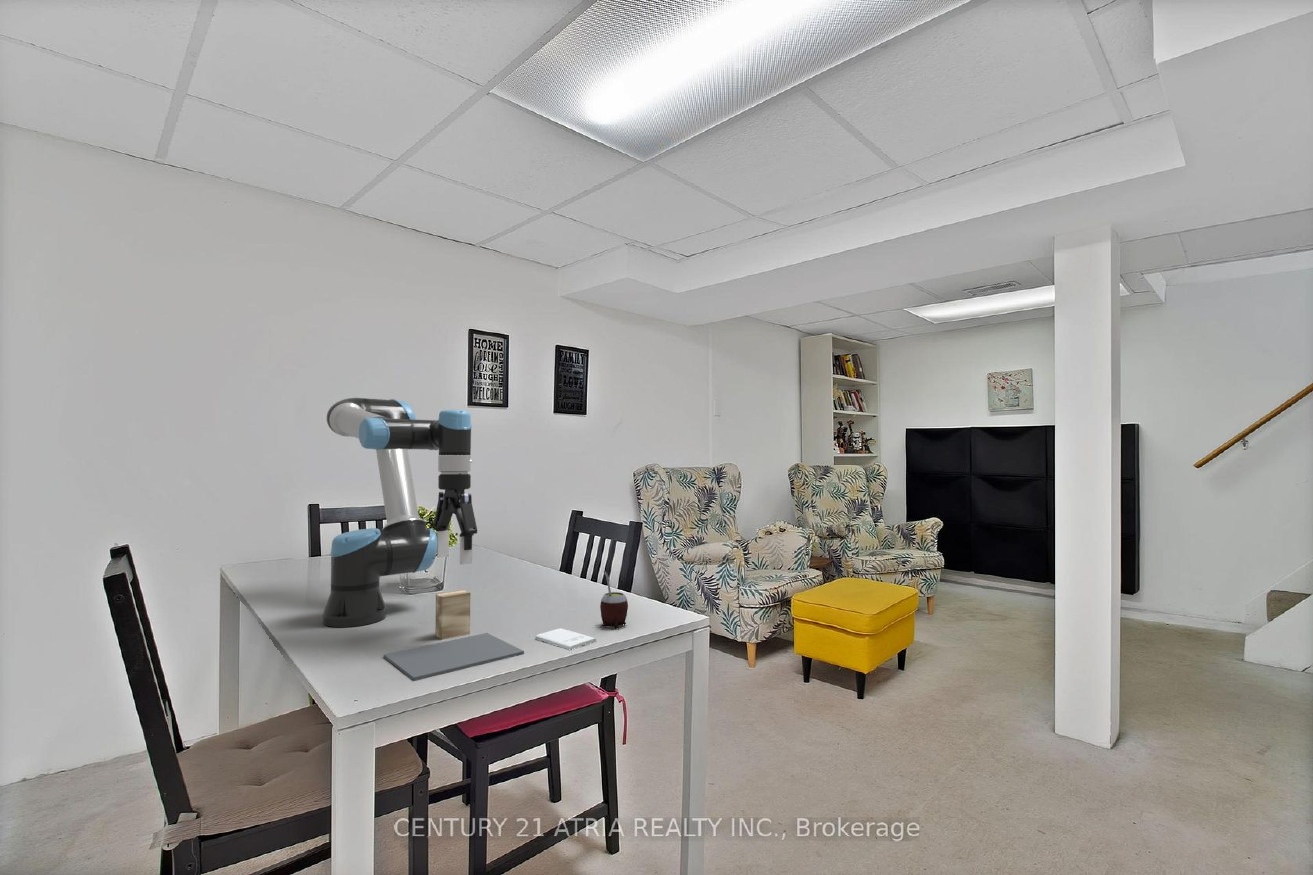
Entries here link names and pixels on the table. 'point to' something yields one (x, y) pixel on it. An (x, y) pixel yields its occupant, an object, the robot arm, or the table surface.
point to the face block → (452, 614)
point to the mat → (451, 655)
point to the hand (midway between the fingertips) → (454, 560)
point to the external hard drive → (565, 638)
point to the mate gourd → (613, 607)
